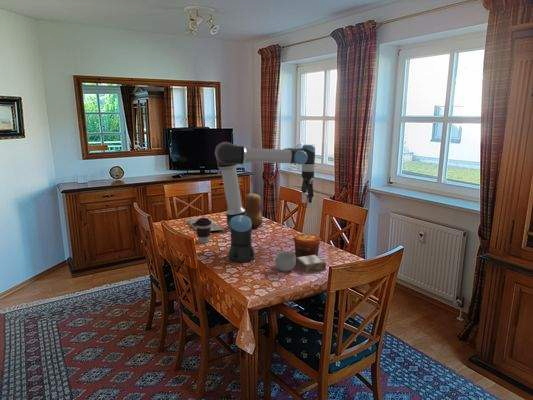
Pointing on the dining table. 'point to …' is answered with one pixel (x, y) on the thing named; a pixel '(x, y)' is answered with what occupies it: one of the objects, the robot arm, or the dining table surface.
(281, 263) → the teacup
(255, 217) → the butternut squash
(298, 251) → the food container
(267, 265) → the dining table surface
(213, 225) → the newspaper
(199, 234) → the coffee cup
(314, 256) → the pedestal
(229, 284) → the dining table surface
